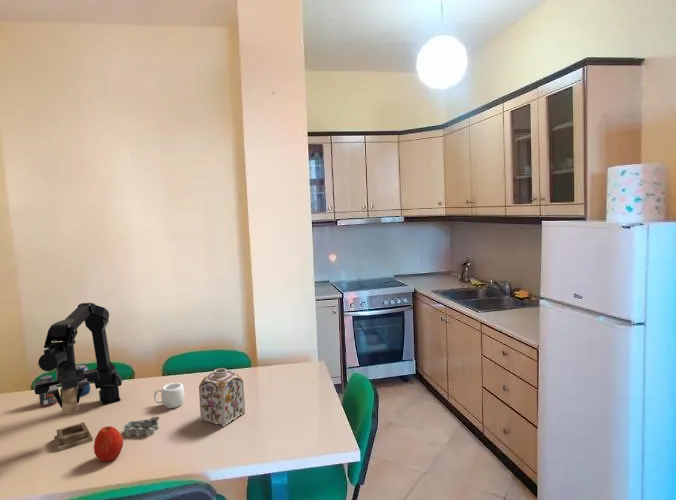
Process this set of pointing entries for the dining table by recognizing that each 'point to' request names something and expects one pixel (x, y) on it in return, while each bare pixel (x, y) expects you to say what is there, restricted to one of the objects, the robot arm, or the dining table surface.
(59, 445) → the walnut socket holder
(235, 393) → the decorative jar
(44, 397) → the supplement bottle
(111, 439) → the apple
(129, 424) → the egg carton
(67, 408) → the wooden dowel
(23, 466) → the dining table surface
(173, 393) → the mug
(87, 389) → the soda can
